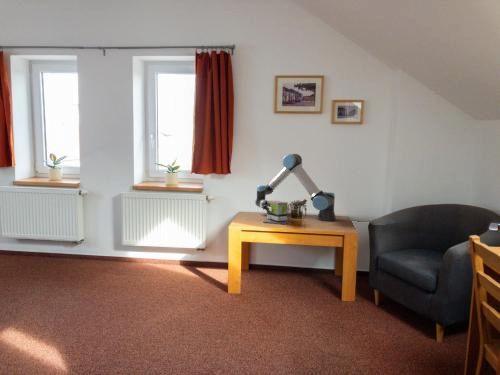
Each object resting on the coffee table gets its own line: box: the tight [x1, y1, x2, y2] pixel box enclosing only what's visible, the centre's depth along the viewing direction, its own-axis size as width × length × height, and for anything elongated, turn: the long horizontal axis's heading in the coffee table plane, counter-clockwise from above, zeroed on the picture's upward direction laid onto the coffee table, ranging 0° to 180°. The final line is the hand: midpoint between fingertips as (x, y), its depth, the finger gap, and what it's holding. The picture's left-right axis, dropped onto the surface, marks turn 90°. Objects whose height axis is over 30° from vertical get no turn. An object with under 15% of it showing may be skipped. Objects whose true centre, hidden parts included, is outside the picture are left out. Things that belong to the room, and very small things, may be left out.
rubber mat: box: [263, 217, 290, 225], centre depth 323 cm, size 18×18×1 cm
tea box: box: [266, 199, 289, 221], centre depth 322 cm, size 15×10×15 cm
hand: (277, 209), depth 320 cm, fingers closed on tea box, 11 cm apart
